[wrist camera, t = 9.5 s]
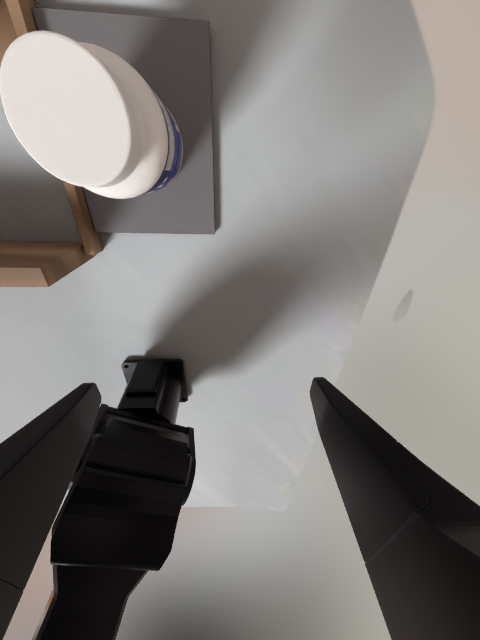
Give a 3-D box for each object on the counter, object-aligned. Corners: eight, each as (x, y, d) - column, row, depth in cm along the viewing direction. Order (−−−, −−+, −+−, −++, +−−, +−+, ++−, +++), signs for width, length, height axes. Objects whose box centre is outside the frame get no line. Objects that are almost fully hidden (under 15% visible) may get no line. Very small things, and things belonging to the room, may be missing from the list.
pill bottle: (114, 193, 17) (25, 210, 9) (85, 91, 14) (-79, -7, 6) (190, 189, 17) (164, 202, 9) (177, 88, 14) (123, -11, 6)
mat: (214, 232, 19) (214, 234, 18) (99, 230, 18) (95, 232, 18) (209, 27, 13) (209, 21, 13) (39, 13, 12) (31, 7, 12)
